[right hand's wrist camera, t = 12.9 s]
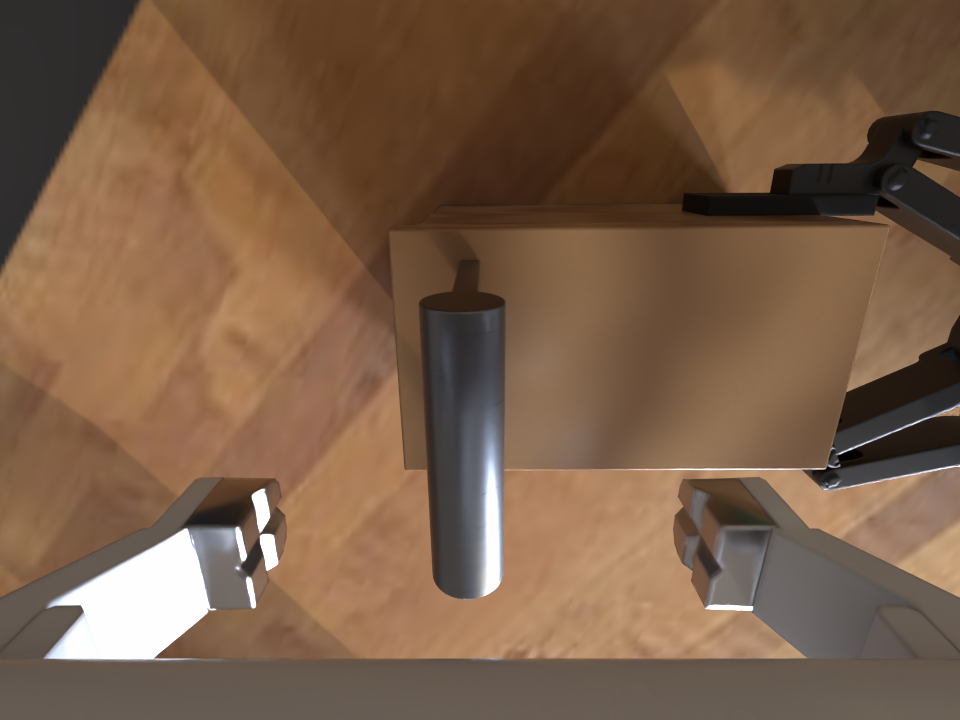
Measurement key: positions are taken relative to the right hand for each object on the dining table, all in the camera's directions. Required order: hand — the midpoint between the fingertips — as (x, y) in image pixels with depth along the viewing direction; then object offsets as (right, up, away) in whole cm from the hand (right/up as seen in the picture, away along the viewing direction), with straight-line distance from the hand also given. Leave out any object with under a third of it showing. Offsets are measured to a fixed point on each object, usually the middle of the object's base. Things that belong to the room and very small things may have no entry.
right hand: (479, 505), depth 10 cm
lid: (+5, +3, +9) cm, 11 cm away
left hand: (+9, +5, +12) cm, 16 cm away
